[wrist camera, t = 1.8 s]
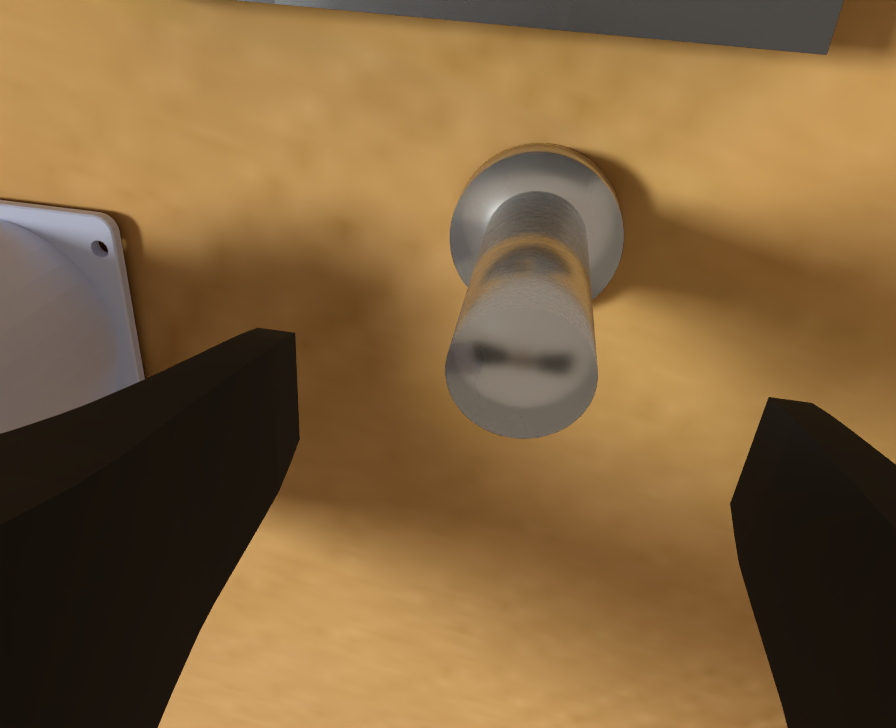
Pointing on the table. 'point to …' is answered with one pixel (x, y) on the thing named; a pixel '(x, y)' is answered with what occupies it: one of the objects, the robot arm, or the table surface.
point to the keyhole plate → (634, 18)
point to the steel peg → (531, 288)
